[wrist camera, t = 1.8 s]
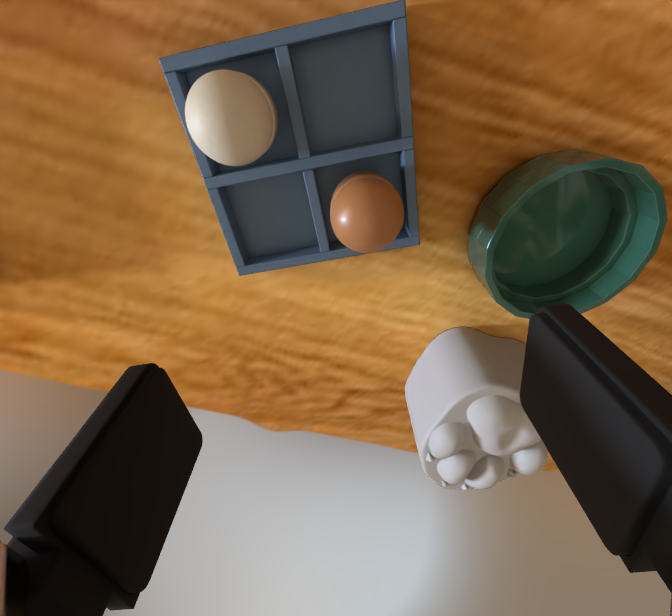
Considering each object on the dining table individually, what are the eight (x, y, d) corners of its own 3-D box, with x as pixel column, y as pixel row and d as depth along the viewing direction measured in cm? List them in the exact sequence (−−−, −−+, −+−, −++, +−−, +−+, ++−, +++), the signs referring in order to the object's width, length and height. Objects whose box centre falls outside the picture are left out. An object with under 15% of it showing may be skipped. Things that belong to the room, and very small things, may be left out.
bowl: (467, 167, 23) (490, 179, 20) (639, 134, 22) (693, 141, 19) (465, 303, 29) (482, 330, 26) (601, 281, 28) (638, 307, 25)
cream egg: (199, 82, 20) (153, 78, 15) (271, 65, 20) (249, 56, 15) (225, 160, 23) (193, 181, 17) (290, 147, 22) (277, 163, 17)
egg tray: (172, 61, 20) (157, 58, 18) (399, 6, 19) (405, -2, 17) (244, 264, 27) (239, 276, 25) (414, 234, 26) (419, 244, 24)
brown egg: (324, 171, 23) (322, 195, 18) (390, 158, 23) (407, 178, 17) (336, 233, 25) (337, 270, 20) (396, 223, 25) (413, 257, 20)
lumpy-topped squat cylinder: (542, 346, 32) (605, 423, 24) (473, 434, 38) (506, 516, 31) (440, 319, 30) (474, 393, 23) (385, 416, 37) (399, 498, 29)
